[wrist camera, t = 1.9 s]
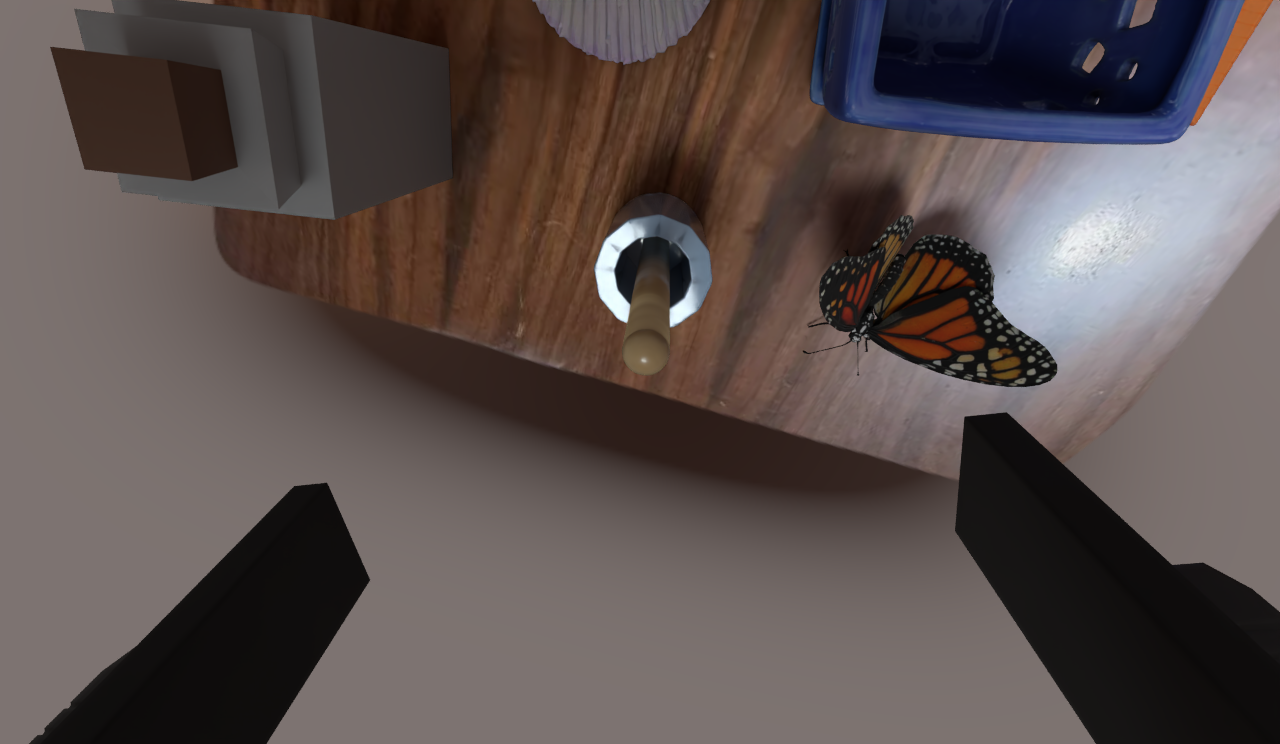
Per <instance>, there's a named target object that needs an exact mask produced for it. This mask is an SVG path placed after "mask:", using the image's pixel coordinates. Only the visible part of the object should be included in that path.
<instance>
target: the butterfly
mask: <svg viewBox="0 0 1280 744" xmlns="http://www.w3.org/2000/svg"><path fill="white" fill-rule="evenodd" d="M913 222H914V221H913V218H912V216H910V215H907V216H903V215H901V216H900V217H899V218H898V219H897V220H896V221H895V222H893V223H892V224H891V225H889V226H888V227H887V229H886V230H885V232H884V233H883V235H881V237H880V238H879V239H878V240H877V241H875V242H874V243H873V245H872V247H871V249H870V250H869V252H868V254H866V255H865V256H862V257H859V256H856V257H854V256H849V254H848V249H847V251H845V252H846V254H847V257H843V258H841V259H840V260H838V261H837V262H834V263H832V265H831V266H830V267H829V269H828V270H827V271H826V273H825V274H824V275H823V276H822V278H821V281H820V289H819V300H820V307H821V309H822V312H823V314H824V317H825V319H826V320H827V322H828V323H827V322H826V323H819V324H816V325H811V326H809V325H808V326H809V327H813V326H817V325H822V324H830V325H831V326H833V327H834V328H836V329H837V330H839V331H844V332H850V331H851V333H850V334H849V337H850V341H849V342H851V341H852V342H857V347H858V342H860V340H861V336H863V337H865V338H866V341H865V342H866V343H865V345H866V351H865V352H868V349H867V340H870V339H871V340H872V341H873V342H875V343H876V344H878V345H879V346H881V347H882V348H884V349H886V350H888V351H889V352H891V353H893V354H895V355H897V356H899V357H901V358H903V359H905V360H907V361H910V362H912V363H915V364H918V365H920V366H923V367H925V368H928V369H930V370H933V371H935V372H938V373H941V374H945V375H948V376H952V377H955V378H959V379H963V380H968V381H972V382H977V383H982V384H988V385H997V386H1005V387H1028V386H1035V385H1040V384H1043V383H1046V382H1048V381H1050V380H1051V379H1052V378H1053V377H1054V376H1055V375H1056V373H1057V364H1056V362H1055V360H1054V359H1053V357H1052V356H1051V354H1050V353H1049V351H1048V350H1047V349H1046V348H1045V347H1044V346H1043V345H1041V344H1040V343H1039V342H1038V341H1036V340H1035V339H1033V338H1031V337H1029V336H1028V335H1026V334H1025V333H1023V332H1022V331H1020V330H1019V329H1017V328H1016V327H1014V326H1012V325H1011V324H1010V323H1009V322H1008V321H1007V320H1006V319H1005V317H1004V316H1003V315H1002V314H1001V313H1000V311H999V310H998V309H997V308H996V307H995V305H994V304H993V303H992V301H993V299H994V294H993V282H994V277H995V275H994V273H993V270H992V268H991V265H990V264H989V261H988V259H987V256H986V255H985V254H983V253H982V252H980V251H978V250H976V249H974V248H973V247H972V246H971V245H970V244H968V243H967V242H965V241H963V240H961V239H960V238H957V237H954V236H948V235H925V236H923V237H922V238H921V239H919V240H918V241H917V242H915V243H914V244H913V246H912V247H911V248H910V250H909V251H908V253H907V254H906V255H905V257H904V255H902V254H897V253H898V252H899V250H900V248H901V247H902V245H903V244H904V242H905V240H906V239H907V237H908V235H909V234H910V232H911V230H912V229H913ZM890 265H891V266H890ZM888 268H889V269H888ZM887 270H888V271H887ZM886 271H887V273H886ZM885 273H886V275H885V276H884V274H885ZM883 276H884V278H883ZM882 278H883V281H882V282H881V283H880V281H881V279H882ZM879 283H880V284H879ZM878 284H879V286H878ZM877 286H878V288H877V290H876V291H874V290H875V289H876V287H877ZM873 309H874V313H875V315H876V316H877V317H878V318H877V319H874V317H875V316H874V314H873ZM868 337H869V338H868ZM849 342H847V343H846V344H848V343H849ZM844 345H845V344H844ZM841 346H843V345H841ZM837 347H840V346H837ZM833 348H836V347H833ZM829 349H832V348H829ZM825 350H828V349H825ZM821 351H823V350H821ZM803 352H804V353H807V352H806V351H803ZM817 352H819V351H817ZM813 353H815V352H813ZM807 354H811V353H807ZM857 375H858V376H859V374H857Z"/></svg>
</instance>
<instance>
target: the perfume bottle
mask: <svg viewBox="0 0 1280 744" xmlns="http://www.w3.org/2000/svg"><path fill="white" fill-rule="evenodd" d="M112 4H113V8H114V12H115V13H106V12H97V11H88V10H80V9H75V14H76V17H77V21H78V25H79V29H80V33H81V36H82V41H83V44H84V48H85V51H82V50H74V49H65V48H55V47H50V48H51V51H52V55H53V58H54V62H55V65H56V69H57V72H58V76H59V80H60V83H61V87H62V90H63V94H64V97H65V101H66V104H67V108H68V111H69V115H70V119H71V122H72V126H73V129H74V133H75V137H76V140H77V144H78V147H79V151H80V154H81V158H82V161H83V165H84V169H86V170H95V171H104V172H113V173H117V175H118V179H119V183H120V187H121V190H122V192H128V193H136V194H145V195H154V196H158V199H159V200H163V201H172V202H181V203H190V204H199V205H208V206H217V207H226V208H235V209H244V210H253V211H261V212H270V213H279V214H288V215H297V216H306V217H315V218H324V219H333V220H335V219H338V218H341V217H344V216H346V215H349V214H352V213H355V212H358V211H361V210H363V209H366V208H369V207H372V206H375V205H378V204H381V203H383V202H386V201H389V200H392V199H395V198H398V197H400V196H403V195H406V194H409V193H412V192H415V191H417V190H420V189H423V188H426V187H429V186H432V185H435V184H437V183H440V182H443V181H446V180H449V179H452V178H453V171H452V139H451V107H450V75H449V49H448V48H444V47H440V46H436V45H432V44H427V43H423V42H419V41H415V40H411V39H407V38H403V37H399V36H394V35H390V34H386V33H382V32H378V31H374V30H370V29H365V28H361V27H357V26H353V25H349V24H345V23H341V22H336V21H332V20H328V19H324V18H320V17H316V16H312V15H303V14H294V13H286V12H277V11H268V10H259V9H250V8H241V7H232V6H223V5H214V4H205V3H196V2H187V1H177V0H112Z"/></svg>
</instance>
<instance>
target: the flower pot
mask: <svg viewBox="0 0 1280 744" xmlns="http://www.w3.org/2000/svg"><path fill="white" fill-rule="evenodd" d="M1136 2H1137V0H822V3H821V10H820V17H819V24H818V31H817V39H816V46H815V53H814V59H813V67H812V75H811V83H810V99H811V101H812V102H813V103H815V104H818V105H825V108H826V109H827V110H828V112H829V113H830V114H831V115H832V116H834V117H835V118H837V119H839V120H842V121H845V122H850V123H856V124H861V125H867V126H873V127H880V128H887V129H894V130H902V131H911V132H921V133H931V134H941V135H952V136H963V137H973V138H988V139H1003V140H1017V141H1032V142H1057V143H1082V144H1164V143H1170V142H1173V141H1175V140H1177V139H1179V138H1180V137H1181V136H1182V135H1183V134H1184V133H1185V131H1186V130H1187V128H1188V127H1189V125H1190V124H1191V122H1192V120H1193V118H1194V115H1195V113H1196V111H1197V109H1198V107H1199V105H1200V103H1201V101H1202V99H1203V97H1204V95H1205V92H1206V90H1207V88H1208V86H1209V83H1210V81H1211V79H1212V76H1213V74H1214V72H1215V70H1216V68H1217V66H1218V63H1219V61H1220V58H1221V56H1222V53H1223V51H1224V49H1225V47H1226V44H1227V42H1228V40H1229V37H1230V35H1231V33H1232V30H1233V28H1234V25H1235V23H1236V21H1237V18H1238V16H1239V13H1240V11H1241V9H1242V6H1243V4H1244V2H1245V0H1157V3H1156V5H1155V10H1154V12H1153V16H1152V18H1151V20H1150V21H1149V22H1147V23H1145V24H1143V25H1140V26H1136V27H1132V28H1129V26H1130V22H1131V19H1132V15H1133V12H1134V8H1135V5H1136ZM1098 42H1099V43H1101V44H1102V46H1103V47H1104V49H1105V51H1104V55H1103V57H1102V59H1101V60H1100V62H1099V63H1098V64H1097V66H1096V67H1095V68H1094V69H1093V70H1092V71H1091V73H1088V72H1086V71H1085V70H1084V69H1083V68H1082V66H1083V63H1084V61H1085V60H1086V58H1087V56H1088V54H1089V53H1090V52H1091V50H1092V49H1093V48H1094V46H1095V45H1096V44H1097V43H1098ZM1136 63H1137V64H1138V66H1137V69H1136V72H1135V74H1134V76H1133V77H1132V78H1131V79H1129V75H1130V74H1131V72H1132V69H1133V67H1134V66H1135V64H1136ZM1098 98H1099V102H1098V104H1096V102H1097V100H1098ZM1095 104H1096V105H1095Z"/></svg>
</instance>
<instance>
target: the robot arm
mask: <svg viewBox="0 0 1280 744" xmlns="http://www.w3.org/2000/svg"><path fill="white" fill-rule="evenodd" d="M955 531H956V533H957V535H958V536H959V537H960V539H961V540H962V542H963V544H964V545H965V547H966V548H967V550H968V551H969V553H970V554H971V556H972V557H973V559H974V560H975V561H976V563H977V565H978V566H979V568H980V569H981V571H982V572H983V574H984V575H985V577H986V578H987V580H988V581H989V583H990V584H991V586H992V587H993V589H994V590H995V592H996V593H997V595H998V596H999V598H1000V599H1001V601H1002V602H1003V604H1004V605H1005V607H1006V609H1007V610H1008V611H1009V613H1010V614H1011V616H1012V617H1013V619H1014V621H1015V622H1016V623H1017V625H1018V627H1019V628H1020V630H1021V631H1022V633H1023V634H1024V636H1025V637H1026V639H1027V640H1028V642H1029V643H1030V645H1031V646H1032V648H1033V649H1034V651H1035V652H1036V654H1037V655H1038V657H1039V658H1040V660H1041V661H1042V663H1043V664H1044V666H1045V667H1046V669H1047V670H1048V672H1049V673H1050V675H1051V676H1052V678H1053V679H1054V681H1055V682H1056V684H1057V685H1058V687H1059V689H1060V690H1061V692H1062V693H1063V694H1064V696H1065V698H1066V699H1067V701H1068V702H1069V704H1070V705H1071V706H1072V708H1073V710H1074V711H1075V713H1076V714H1077V715H1078V717H1079V719H1080V720H1081V722H1082V723H1083V725H1084V726H1085V728H1086V729H1087V731H1088V732H1089V734H1090V735H1091V737H1092V738H1093V740H1094V741H1095V743H1096V744H1280V612H1279V611H1278V610H1277V609H1275V608H1274V607H1273V606H1272V605H1271V604H1269V603H1268V602H1267V601H1266V600H1265V599H1263V598H1262V597H1261V596H1260V595H1259V594H1257V593H1256V592H1255V591H1254V590H1253V589H1251V588H1249V587H1247V586H1246V585H1244V584H1242V583H1240V582H1238V581H1236V580H1234V579H1233V578H1231V577H1229V576H1227V575H1225V574H1223V573H1221V572H1220V571H1217V570H1216V569H1214V568H1212V567H1210V566H1208V565H1206V564H1205V563H1193V564H1180V565H1172V564H1170V563H1169V562H1168V561H1167V560H1166V559H1165V558H1164V557H1163V556H1162V555H1161V554H1160V553H1159V552H1157V551H1156V550H1155V549H1154V548H1153V547H1152V546H1151V545H1150V544H1149V543H1148V542H1147V541H1145V540H1144V539H1143V538H1142V537H1141V536H1140V535H1139V534H1138V533H1137V532H1136V531H1135V530H1134V529H1133V528H1131V527H1130V526H1129V525H1128V524H1127V523H1126V522H1125V521H1124V520H1123V519H1121V517H1120V516H1118V515H1117V514H1116V513H1115V512H1114V511H1113V510H1112V509H1111V508H1110V507H1109V506H1108V505H1107V504H1105V503H1104V502H1103V501H1102V500H1101V499H1100V498H1099V497H1098V496H1097V495H1096V494H1095V493H1094V492H1092V491H1091V490H1090V489H1089V488H1088V487H1087V486H1086V485H1085V484H1084V483H1083V482H1081V480H1079V479H1078V478H1077V477H1076V476H1075V475H1074V474H1073V473H1072V472H1071V471H1070V470H1068V469H1067V468H1066V467H1065V466H1064V465H1063V464H1062V463H1061V462H1060V461H1059V460H1058V459H1057V458H1056V457H1054V456H1053V455H1052V454H1051V453H1050V452H1049V451H1048V450H1047V449H1046V448H1045V447H1044V446H1043V445H1041V444H1040V443H1039V442H1038V441H1037V440H1036V439H1035V438H1034V437H1033V436H1032V435H1031V434H1030V433H1028V432H1027V431H1026V430H1025V429H1024V428H1023V427H1022V426H1021V425H1020V424H1019V423H1018V422H1017V421H1015V420H1014V419H1013V418H1012V417H1011V416H1010V415H1009V414H1008V413H1007V412H1006V413H996V414H986V415H977V416H967V417H965V418H964V430H963V442H962V454H961V466H960V478H959V490H958V503H957V514H956V526H955ZM369 581H370V579H369V576H368V574H367V572H366V570H365V567H364V565H363V563H362V561H361V558H360V556H359V554H358V552H357V549H356V547H355V545H354V542H353V541H352V538H351V536H350V533H349V531H348V529H347V527H346V524H345V522H344V520H343V518H342V515H341V513H340V511H339V509H338V506H337V504H336V502H335V500H334V497H333V495H332V493H331V490H330V488H329V486H328V484H327V483H321V484H311V485H301V486H294V487H293V488H292V489H291V490H290V491H289V492H288V493H287V494H286V495H285V496H284V497H283V498H282V499H281V500H280V501H279V502H278V503H277V504H276V505H275V506H274V507H273V508H272V509H271V510H270V511H269V512H268V513H267V514H266V515H265V517H263V518H262V520H261V521H259V523H258V524H257V525H256V526H255V527H254V528H253V529H252V530H251V531H250V532H249V533H248V534H247V535H246V536H245V537H244V538H243V539H242V540H241V541H240V542H239V543H238V544H237V545H236V546H235V547H234V548H233V549H232V550H231V551H230V552H229V553H228V554H227V555H226V556H225V557H224V558H223V559H222V560H221V561H220V562H219V563H218V564H217V565H216V566H215V567H214V568H213V569H212V570H211V571H210V572H209V573H208V574H207V575H206V576H205V577H204V578H203V579H202V580H201V581H200V582H199V583H198V585H196V587H194V588H193V589H192V590H191V591H190V592H189V594H187V595H186V596H185V598H184V599H183V600H182V601H181V602H180V603H179V604H178V605H177V606H176V607H175V608H174V609H173V610H172V611H171V612H170V613H169V614H168V615H167V616H166V617H165V618H164V619H163V620H162V621H161V622H160V623H159V624H158V625H157V626H156V627H155V628H154V629H153V630H152V631H151V632H150V633H149V634H148V635H147V636H146V637H145V638H144V639H143V640H142V641H141V642H140V643H139V644H138V645H137V646H136V647H135V648H133V649H132V650H131V651H129V652H128V653H127V654H125V655H124V656H122V657H121V658H120V659H118V660H117V661H116V662H114V663H113V664H111V665H110V666H109V667H107V668H106V669H104V670H103V671H102V672H101V673H100V674H99V675H98V676H97V677H96V678H95V679H94V680H93V681H92V682H91V683H90V684H89V685H88V686H87V687H86V688H85V689H84V690H83V691H82V692H81V693H80V694H79V695H78V696H77V697H76V698H75V699H74V700H73V701H72V702H71V706H70V707H69V708H68V709H64V710H63V711H62V712H61V713H60V714H59V715H58V716H57V717H55V719H53V721H52V722H50V723H49V725H47V726H46V728H45V732H44V734H43V735H37V736H36V737H35V738H34V740H32V741H31V742H30V743H29V744H267V742H268V740H269V739H270V737H271V736H272V734H273V732H274V731H275V729H276V728H277V726H278V724H279V723H280V721H281V720H282V718H283V717H284V715H285V714H286V712H287V710H288V709H289V707H290V706H291V704H292V702H293V700H294V699H295V698H296V696H297V695H298V693H299V691H300V690H301V688H302V687H303V685H304V684H305V682H306V680H307V679H308V677H309V676H310V674H311V672H312V671H313V669H314V668H315V666H316V665H317V663H318V661H319V660H320V658H321V657H322V655H323V654H324V652H325V650H326V649H327V647H328V646H329V644H330V643H331V641H332V639H333V638H334V636H335V635H336V633H337V631H338V630H339V628H340V627H341V625H342V624H343V622H344V620H345V618H346V617H347V616H348V614H349V612H350V611H351V609H352V608H353V606H354V605H355V603H356V601H357V600H358V598H359V597H360V595H361V594H362V592H363V590H364V589H365V587H366V586H367V584H368V583H369Z"/></svg>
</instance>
